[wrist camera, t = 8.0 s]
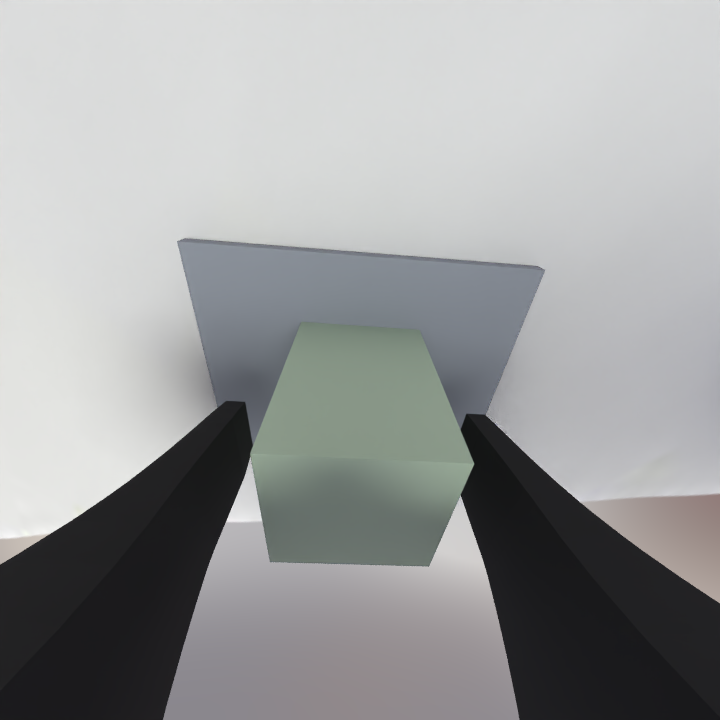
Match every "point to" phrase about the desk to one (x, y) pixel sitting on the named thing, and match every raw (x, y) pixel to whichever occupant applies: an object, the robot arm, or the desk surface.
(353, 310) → the mat
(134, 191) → the desk surface
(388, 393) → the green block
